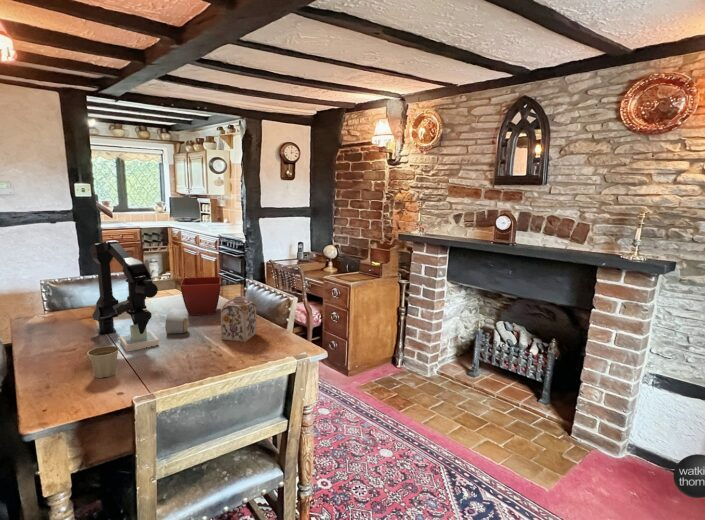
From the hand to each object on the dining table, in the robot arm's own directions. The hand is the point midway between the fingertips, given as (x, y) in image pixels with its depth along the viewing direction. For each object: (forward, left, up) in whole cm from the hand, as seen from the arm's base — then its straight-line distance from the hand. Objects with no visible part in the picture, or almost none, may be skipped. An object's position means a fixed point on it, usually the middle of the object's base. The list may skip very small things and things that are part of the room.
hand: (138, 330), depth 170 cm
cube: (0, 0, -3) cm, 3 cm away
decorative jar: (+15, +37, -6) cm, 40 cm away
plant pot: (-31, +37, -6) cm, 49 cm away
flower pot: (+24, -16, -6) cm, 29 cm away
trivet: (0, 0, -6) cm, 6 cm away
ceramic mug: (-7, +17, -6) cm, 19 cm away
